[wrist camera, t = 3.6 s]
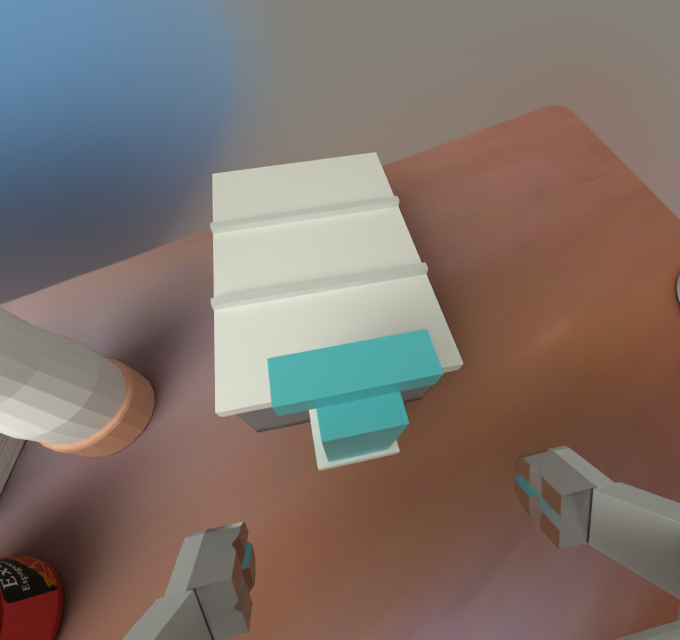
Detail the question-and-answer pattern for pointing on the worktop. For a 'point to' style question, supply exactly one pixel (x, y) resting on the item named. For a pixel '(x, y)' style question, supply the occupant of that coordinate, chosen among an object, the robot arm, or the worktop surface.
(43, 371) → the pepper shaker
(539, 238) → the worktop surface
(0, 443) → the small box
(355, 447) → the lid
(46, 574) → the canned food
